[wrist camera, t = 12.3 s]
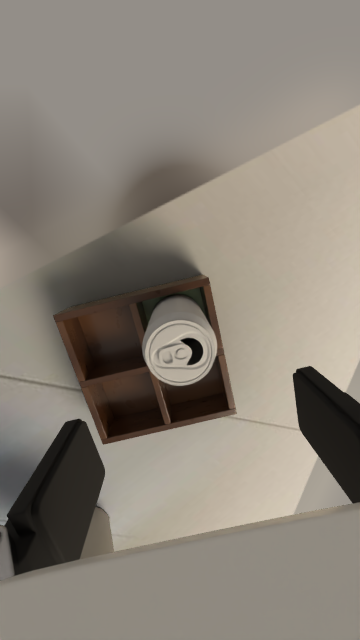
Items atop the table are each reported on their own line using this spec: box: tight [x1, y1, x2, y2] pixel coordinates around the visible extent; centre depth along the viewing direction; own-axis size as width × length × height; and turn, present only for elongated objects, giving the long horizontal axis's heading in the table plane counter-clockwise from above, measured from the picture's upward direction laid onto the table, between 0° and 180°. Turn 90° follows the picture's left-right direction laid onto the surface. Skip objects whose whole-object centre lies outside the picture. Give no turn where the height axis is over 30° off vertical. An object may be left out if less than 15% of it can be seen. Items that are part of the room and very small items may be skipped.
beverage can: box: [142, 294, 217, 386], centre depth 25 cm, size 6×6×12 cm
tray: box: [53, 275, 237, 445], centre depth 31 cm, size 17×17×5 cm
